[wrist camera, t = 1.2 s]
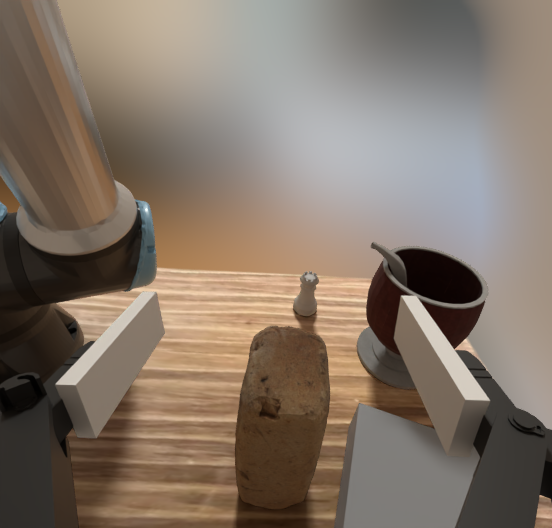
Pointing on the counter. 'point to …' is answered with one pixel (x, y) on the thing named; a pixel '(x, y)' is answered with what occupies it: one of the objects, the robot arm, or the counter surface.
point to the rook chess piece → (306, 295)
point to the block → (281, 417)
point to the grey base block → (399, 475)
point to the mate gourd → (432, 294)
